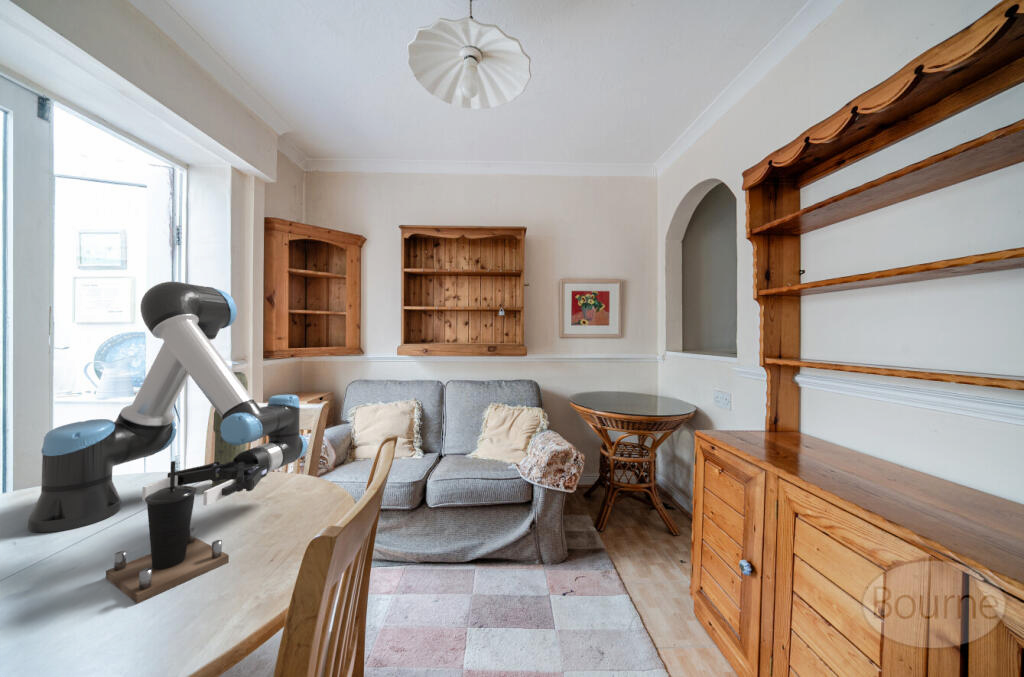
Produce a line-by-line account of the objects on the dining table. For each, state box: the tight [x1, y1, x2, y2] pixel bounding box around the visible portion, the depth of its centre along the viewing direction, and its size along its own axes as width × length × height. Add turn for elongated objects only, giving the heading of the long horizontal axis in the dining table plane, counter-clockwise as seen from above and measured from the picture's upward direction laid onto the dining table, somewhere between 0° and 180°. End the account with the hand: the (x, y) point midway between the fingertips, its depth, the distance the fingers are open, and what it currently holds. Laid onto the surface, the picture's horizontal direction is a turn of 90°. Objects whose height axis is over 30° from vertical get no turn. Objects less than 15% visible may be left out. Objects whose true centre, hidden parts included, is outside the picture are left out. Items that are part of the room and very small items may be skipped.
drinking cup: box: [145, 460, 198, 570], centre depth 74 cm, size 8×8×20 cm
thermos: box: [211, 371, 249, 488], centre depth 117 cm, size 9×12×35 cm
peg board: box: [105, 525, 230, 605], centre depth 74 cm, size 14×14×4 cm
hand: (174, 496), depth 75 cm, fingers open, 13 cm apart
